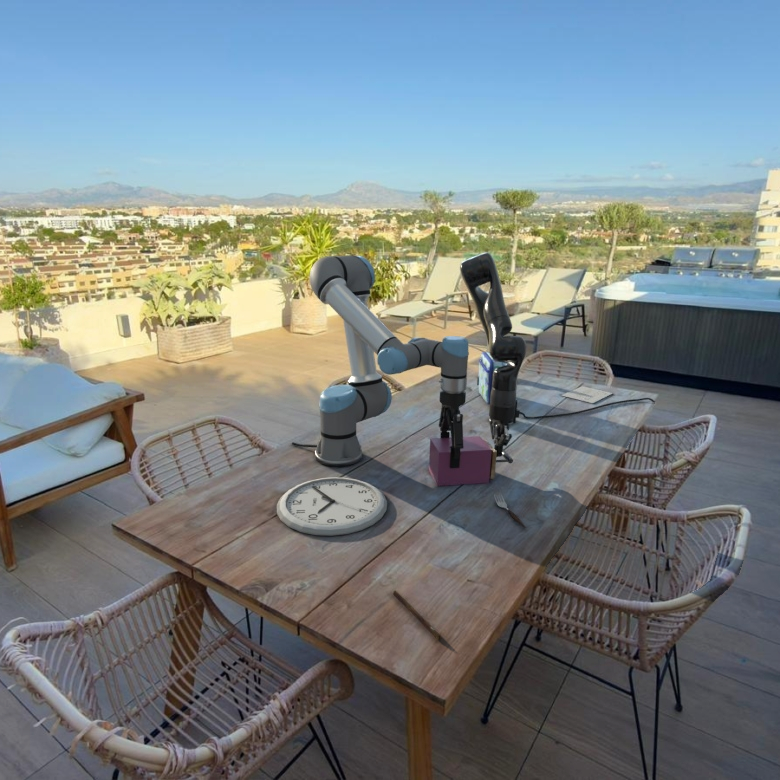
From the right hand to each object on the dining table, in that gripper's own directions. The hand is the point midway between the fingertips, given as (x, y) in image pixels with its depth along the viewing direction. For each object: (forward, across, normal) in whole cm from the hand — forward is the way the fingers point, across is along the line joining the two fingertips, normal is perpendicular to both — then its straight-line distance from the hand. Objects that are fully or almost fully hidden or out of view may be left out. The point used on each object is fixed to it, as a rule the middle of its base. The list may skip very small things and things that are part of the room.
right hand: (497, 455), depth 161 cm
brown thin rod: (+7, +57, -38) cm, 69 cm away
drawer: (+5, 0, -7) cm, 9 cm away
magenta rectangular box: (+6, 0, -12) cm, 14 cm away
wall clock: (+7, +12, -52) cm, 53 cm away
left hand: (0, 0, -16) cm, 16 cm away
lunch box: (+6, -71, +24) cm, 76 cm away
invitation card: (+5, -73, +71) cm, 102 cm away
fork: (+6, +23, -5) cm, 25 cm away
